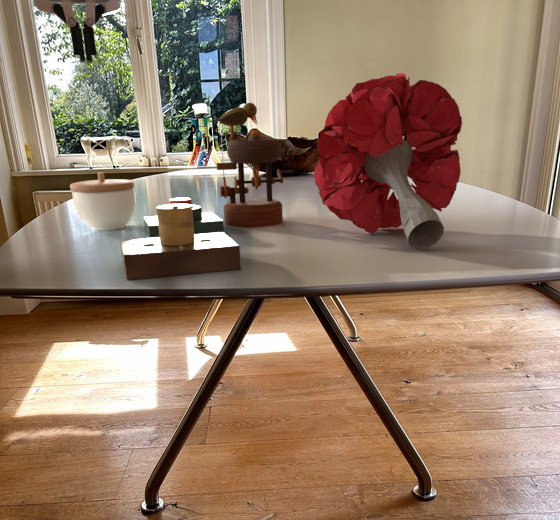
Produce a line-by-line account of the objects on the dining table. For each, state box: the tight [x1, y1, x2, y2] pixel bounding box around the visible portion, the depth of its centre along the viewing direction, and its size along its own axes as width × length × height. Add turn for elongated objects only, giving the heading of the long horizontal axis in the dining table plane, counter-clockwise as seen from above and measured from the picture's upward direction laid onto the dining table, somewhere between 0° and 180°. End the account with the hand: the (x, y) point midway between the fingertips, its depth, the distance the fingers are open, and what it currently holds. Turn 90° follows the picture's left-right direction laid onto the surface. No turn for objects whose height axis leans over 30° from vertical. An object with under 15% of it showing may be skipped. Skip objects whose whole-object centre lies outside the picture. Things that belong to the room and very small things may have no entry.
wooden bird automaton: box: [208, 102, 295, 228], centre depth 104 cm, size 15×11×20 cm
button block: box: [142, 204, 225, 238], centre depth 100 cm, size 12×10×4 cm
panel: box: [119, 231, 242, 281], centre depth 77 cm, size 14×10×3 cm
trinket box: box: [69, 171, 136, 232], centre depth 104 cm, size 11×11×9 cm
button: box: [169, 197, 193, 205], centre depth 99 cm, size 4×4×2 cm
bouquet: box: [313, 72, 463, 250], centre depth 89 cm, size 22×24×30 cm
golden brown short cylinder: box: [156, 203, 195, 246], centre depth 75 cm, size 4×4×5 cm
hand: (86, 61), depth 81 cm, fingers closed
